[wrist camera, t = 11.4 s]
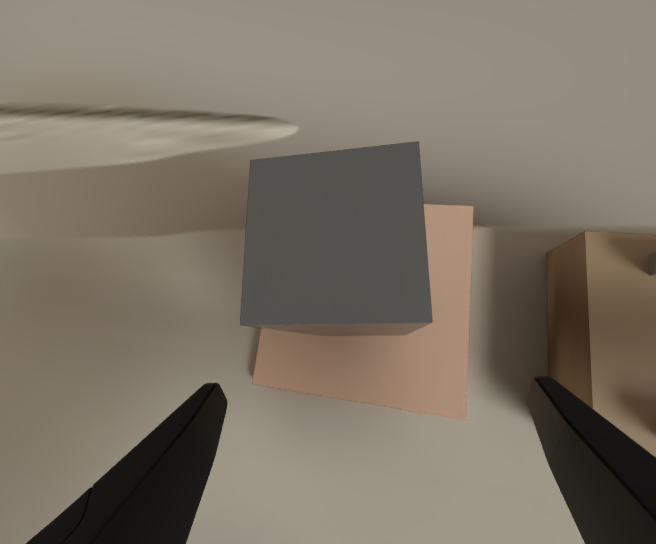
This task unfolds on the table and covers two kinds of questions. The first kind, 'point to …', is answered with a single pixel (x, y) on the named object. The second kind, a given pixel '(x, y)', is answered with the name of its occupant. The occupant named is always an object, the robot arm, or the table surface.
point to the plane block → (606, 327)
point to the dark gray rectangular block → (337, 243)
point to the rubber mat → (392, 340)
